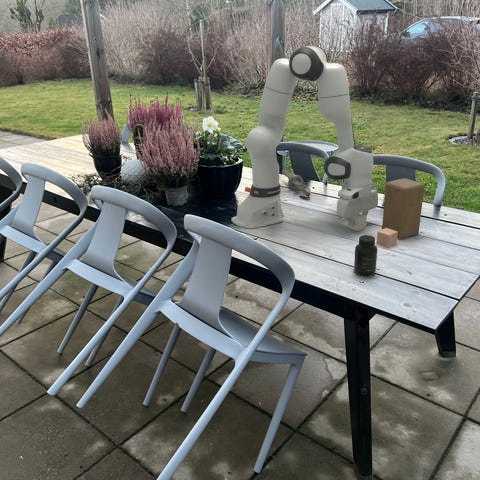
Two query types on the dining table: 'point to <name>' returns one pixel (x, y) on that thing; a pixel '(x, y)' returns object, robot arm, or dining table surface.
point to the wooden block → (403, 207)
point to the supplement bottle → (365, 256)
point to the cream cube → (358, 222)
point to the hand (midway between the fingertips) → (356, 223)
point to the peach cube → (387, 237)
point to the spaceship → (297, 184)
